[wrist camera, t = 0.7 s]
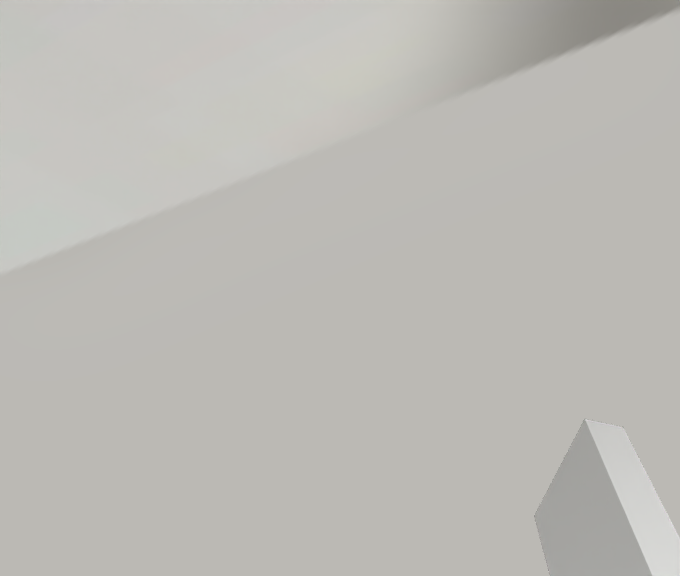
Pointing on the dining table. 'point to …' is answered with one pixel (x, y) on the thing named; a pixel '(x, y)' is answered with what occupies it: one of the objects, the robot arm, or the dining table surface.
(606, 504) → the robot arm
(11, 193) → the dining table surface
